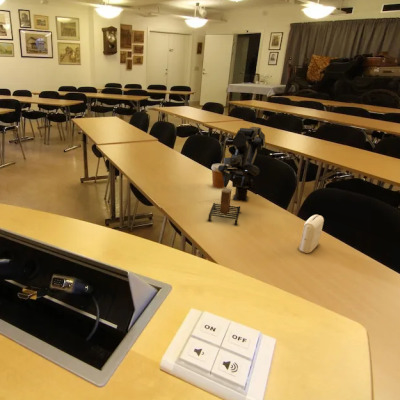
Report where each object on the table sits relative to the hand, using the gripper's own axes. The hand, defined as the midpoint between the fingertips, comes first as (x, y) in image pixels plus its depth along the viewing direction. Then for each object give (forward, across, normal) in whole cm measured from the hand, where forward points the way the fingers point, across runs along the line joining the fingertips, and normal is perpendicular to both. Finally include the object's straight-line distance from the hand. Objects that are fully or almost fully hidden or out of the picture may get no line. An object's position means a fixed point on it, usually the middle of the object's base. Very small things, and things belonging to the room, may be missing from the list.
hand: (233, 187), depth 144 cm
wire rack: (+14, 0, 0) cm, 14 cm away
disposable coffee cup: (-5, -28, +21) cm, 35 cm away
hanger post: (+12, +1, -3) cm, 13 cm away
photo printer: (+19, +34, +8) cm, 40 cm away
